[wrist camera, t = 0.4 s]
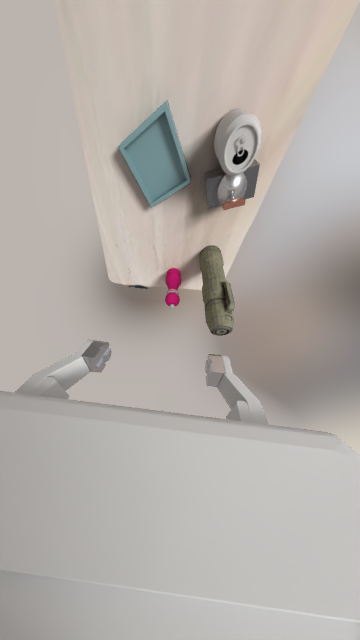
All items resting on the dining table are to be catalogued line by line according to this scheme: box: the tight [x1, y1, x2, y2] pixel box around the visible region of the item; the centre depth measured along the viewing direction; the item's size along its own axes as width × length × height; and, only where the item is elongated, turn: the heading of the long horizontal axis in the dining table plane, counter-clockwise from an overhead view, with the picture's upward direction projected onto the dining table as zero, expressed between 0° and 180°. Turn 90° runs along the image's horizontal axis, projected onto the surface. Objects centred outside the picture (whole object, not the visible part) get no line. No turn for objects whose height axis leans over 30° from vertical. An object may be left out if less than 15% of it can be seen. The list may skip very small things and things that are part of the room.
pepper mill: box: [165, 268, 181, 308], centre depth 60 cm, size 7×7×20 cm
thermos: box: [199, 246, 235, 336], centre depth 48 cm, size 9×12×35 cm
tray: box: [118, 101, 191, 207], centre depth 34 cm, size 13×13×3 cm
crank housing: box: [205, 159, 260, 210], centre depth 35 cm, size 7×12×10 cm, turn 103°
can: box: [214, 109, 261, 176], centre depth 29 cm, size 8×8×12 cm
